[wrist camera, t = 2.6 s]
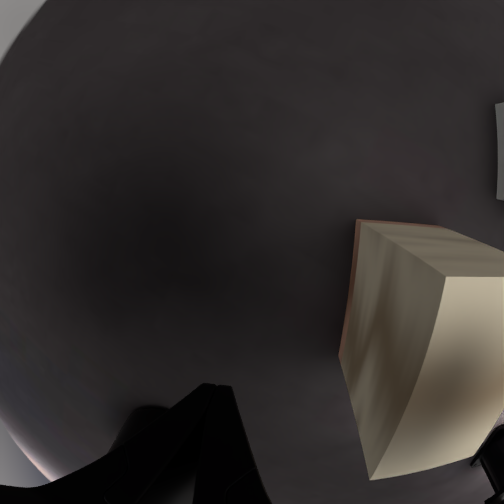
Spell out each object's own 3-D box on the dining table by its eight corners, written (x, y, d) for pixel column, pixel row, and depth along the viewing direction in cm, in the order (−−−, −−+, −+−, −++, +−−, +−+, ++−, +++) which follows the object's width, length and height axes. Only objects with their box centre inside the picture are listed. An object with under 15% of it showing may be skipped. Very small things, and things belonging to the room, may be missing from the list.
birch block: (412, 352, 16) (473, 455, 7) (338, 355, 16) (369, 480, 8) (438, 225, 14) (555, 276, 5) (355, 219, 14) (446, 276, 6)
